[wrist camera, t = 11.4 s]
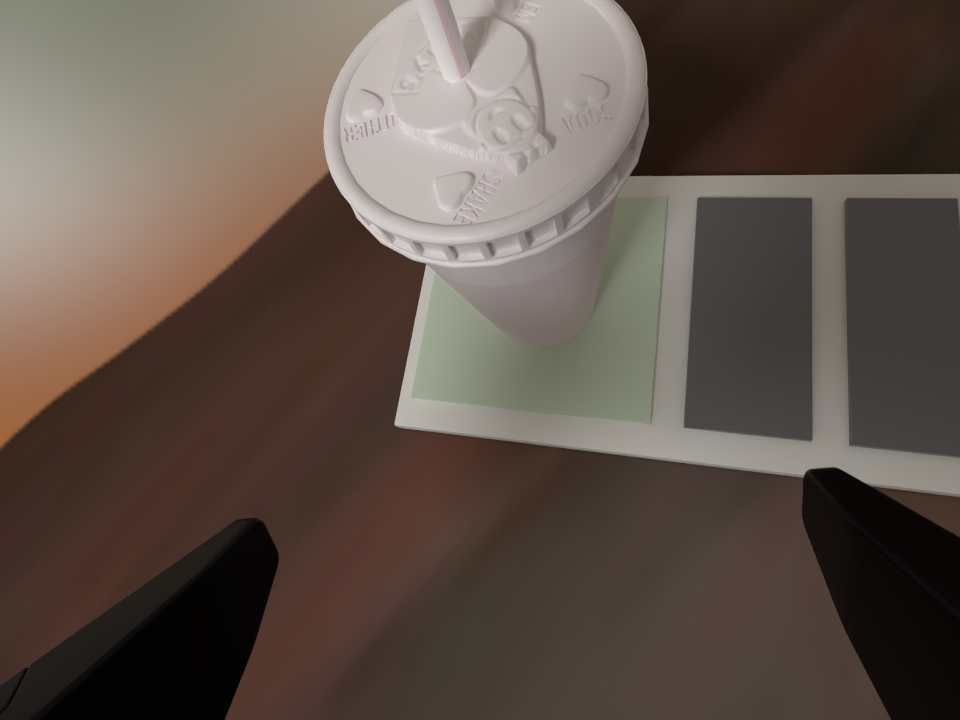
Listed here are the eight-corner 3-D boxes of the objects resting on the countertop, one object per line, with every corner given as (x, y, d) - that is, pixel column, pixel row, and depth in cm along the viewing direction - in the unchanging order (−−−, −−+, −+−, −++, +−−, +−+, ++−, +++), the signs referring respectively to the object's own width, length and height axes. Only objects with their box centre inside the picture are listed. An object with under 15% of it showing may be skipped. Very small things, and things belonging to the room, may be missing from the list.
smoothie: (561, 184, 21) (459, -417, 8) (679, 309, 18) (821, -261, 5) (421, 287, 21) (86, -133, 8) (519, 425, 18) (271, 149, 5)
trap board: (988, 500, 15) (1004, 498, 15) (399, 427, 20) (392, 423, 19) (961, 183, 18) (974, 169, 17) (447, 185, 23) (442, 174, 22)
